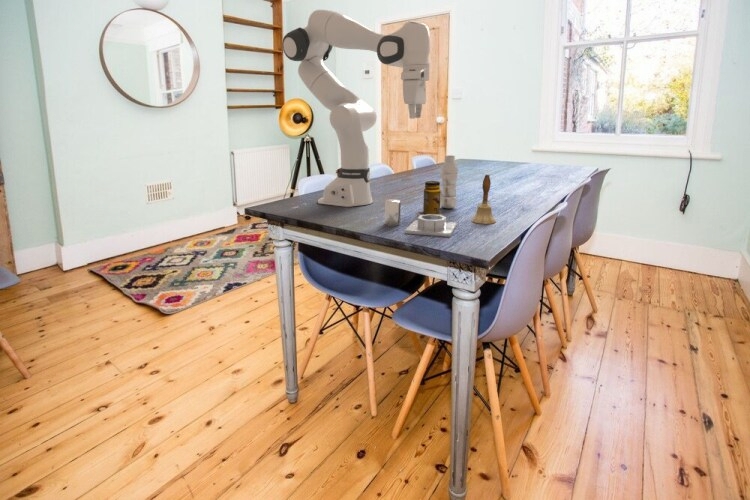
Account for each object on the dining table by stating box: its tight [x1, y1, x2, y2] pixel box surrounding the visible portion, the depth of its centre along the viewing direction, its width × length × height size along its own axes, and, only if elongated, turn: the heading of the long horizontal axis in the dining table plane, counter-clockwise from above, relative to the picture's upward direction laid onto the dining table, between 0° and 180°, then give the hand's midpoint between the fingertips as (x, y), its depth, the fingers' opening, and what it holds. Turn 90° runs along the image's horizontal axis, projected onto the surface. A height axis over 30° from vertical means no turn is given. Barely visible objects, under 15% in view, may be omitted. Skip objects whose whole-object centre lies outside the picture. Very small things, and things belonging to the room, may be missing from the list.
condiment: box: [414, 180, 444, 217], centre depth 166 cm, size 7×8×12 cm
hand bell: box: [470, 174, 497, 225], centre depth 155 cm, size 8×8×16 cm
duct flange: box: [404, 214, 458, 238], centre depth 146 cm, size 14×14×4 cm
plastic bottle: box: [439, 154, 459, 210], centre depth 174 cm, size 6×7×20 cm
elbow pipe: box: [384, 198, 401, 227], centre depth 153 cm, size 5×5×8 cm
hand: (415, 118), depth 157 cm, fingers open, 8 cm apart
